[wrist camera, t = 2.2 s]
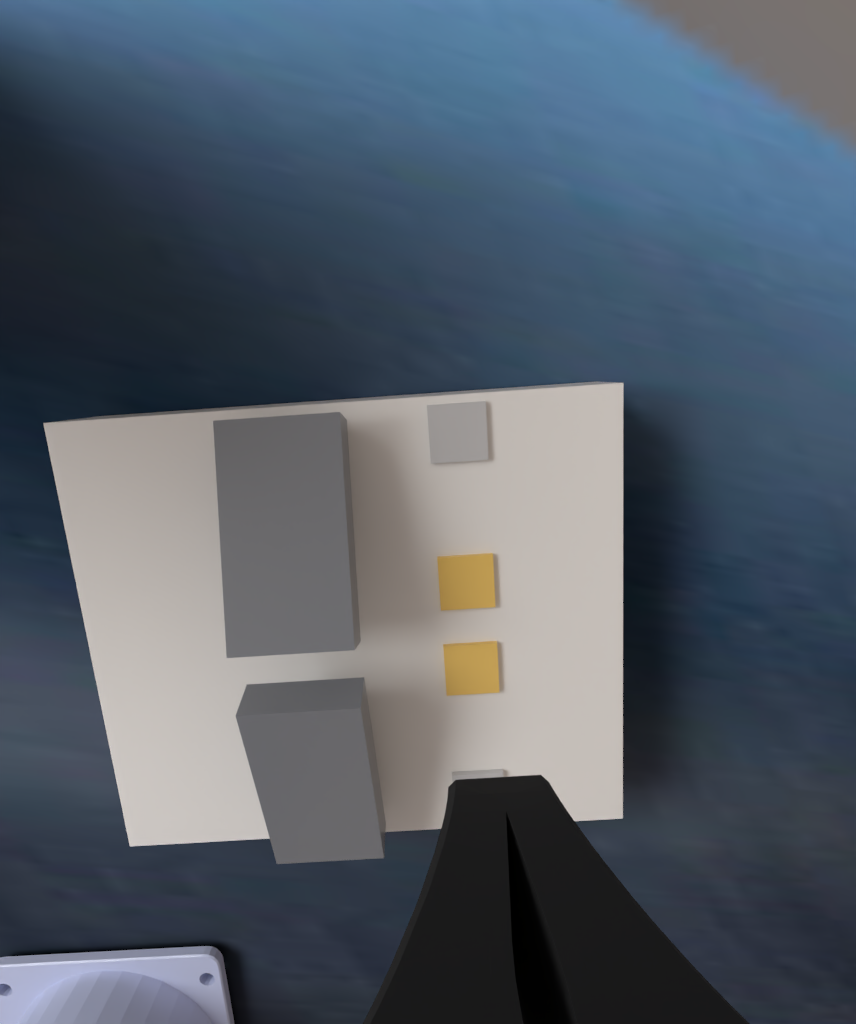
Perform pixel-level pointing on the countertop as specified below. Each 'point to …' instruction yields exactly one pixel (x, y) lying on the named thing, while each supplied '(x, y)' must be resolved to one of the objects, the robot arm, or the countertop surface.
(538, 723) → the console
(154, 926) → the countertop surface
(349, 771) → the block
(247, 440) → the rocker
